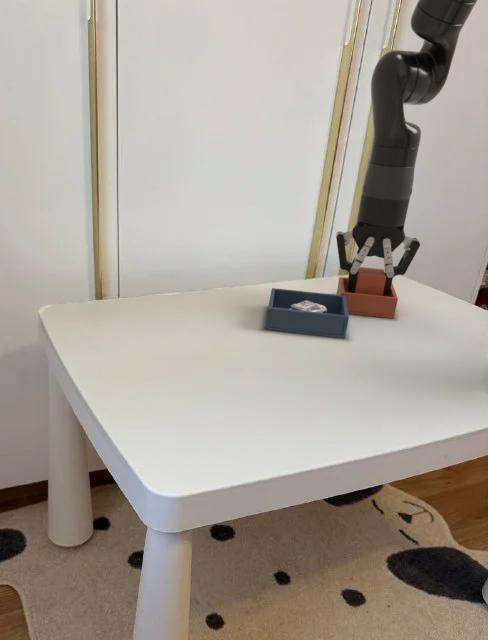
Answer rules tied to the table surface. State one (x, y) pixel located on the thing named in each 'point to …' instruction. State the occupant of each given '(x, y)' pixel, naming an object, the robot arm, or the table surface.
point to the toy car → (309, 307)
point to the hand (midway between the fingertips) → (366, 294)
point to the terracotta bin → (368, 302)
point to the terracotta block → (370, 281)
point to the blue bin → (307, 313)
